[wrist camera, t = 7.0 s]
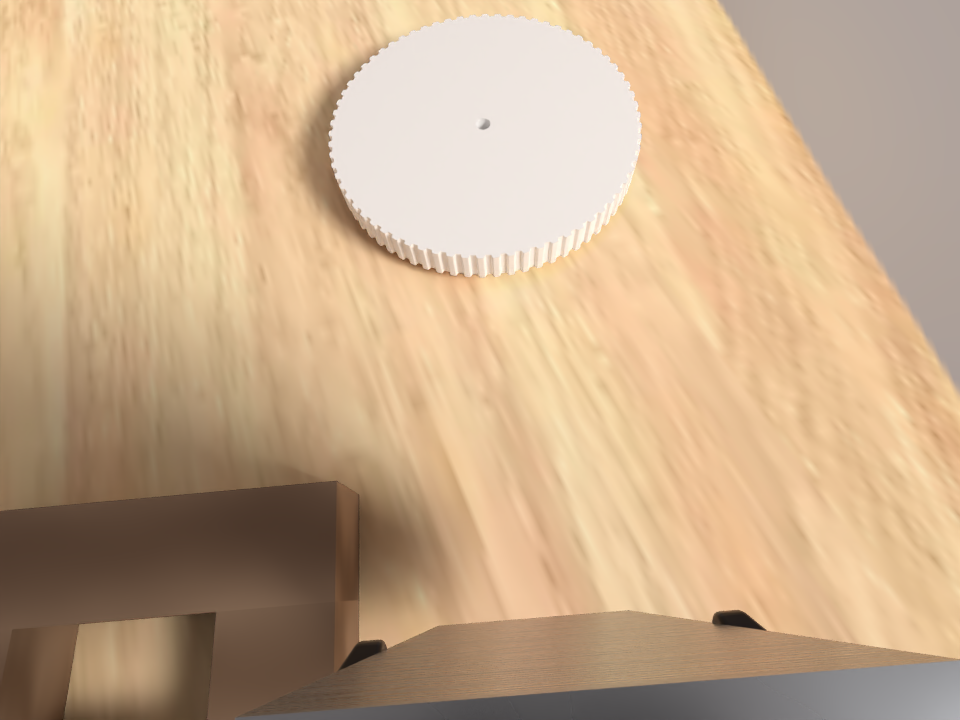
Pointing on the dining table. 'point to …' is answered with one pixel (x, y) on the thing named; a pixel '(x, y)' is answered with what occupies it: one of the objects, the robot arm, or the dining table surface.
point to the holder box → (184, 587)
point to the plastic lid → (485, 144)
